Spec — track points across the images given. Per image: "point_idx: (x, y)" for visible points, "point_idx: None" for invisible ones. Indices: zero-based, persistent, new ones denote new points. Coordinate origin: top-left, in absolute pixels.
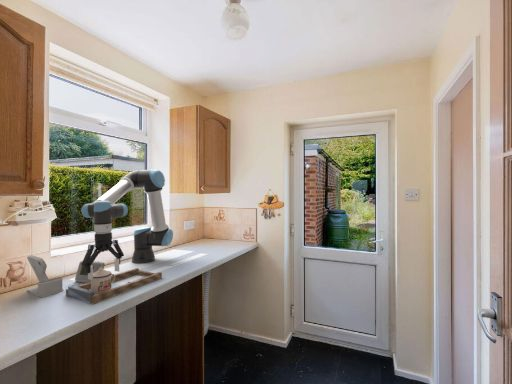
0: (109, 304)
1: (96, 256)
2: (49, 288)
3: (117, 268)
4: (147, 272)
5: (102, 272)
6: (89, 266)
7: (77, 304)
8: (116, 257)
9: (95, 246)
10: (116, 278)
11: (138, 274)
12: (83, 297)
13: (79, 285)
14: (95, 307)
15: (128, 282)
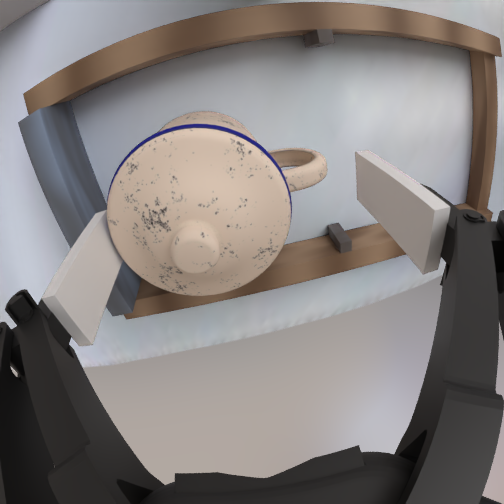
0: (184, 336)
1: (115, 437)
2: None
3: (370, 205)
4: (490, 138)
5: (196, 279)
6: (64, 336)
7: None
8: (455, 230)
9: None
10: (372, 33)
11: (472, 71)
12: None
13: (94, 56)
14: (138, 327)
15: (342, 247)
